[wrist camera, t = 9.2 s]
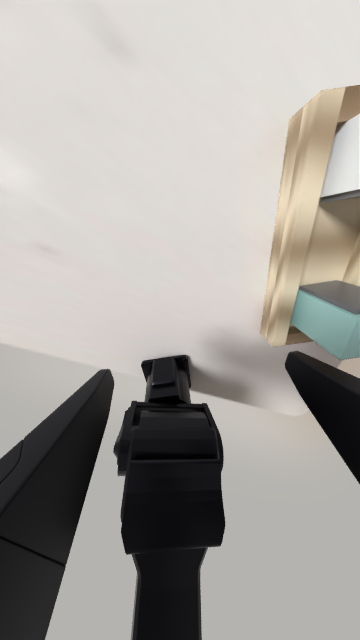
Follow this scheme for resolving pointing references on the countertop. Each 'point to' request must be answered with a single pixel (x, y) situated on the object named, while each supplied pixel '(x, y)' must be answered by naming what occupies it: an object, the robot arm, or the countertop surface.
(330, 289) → the teal block
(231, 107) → the countertop surface
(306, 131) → the wooden tray
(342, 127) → the grey rectangular block
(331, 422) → the robot arm
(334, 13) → the countertop surface
